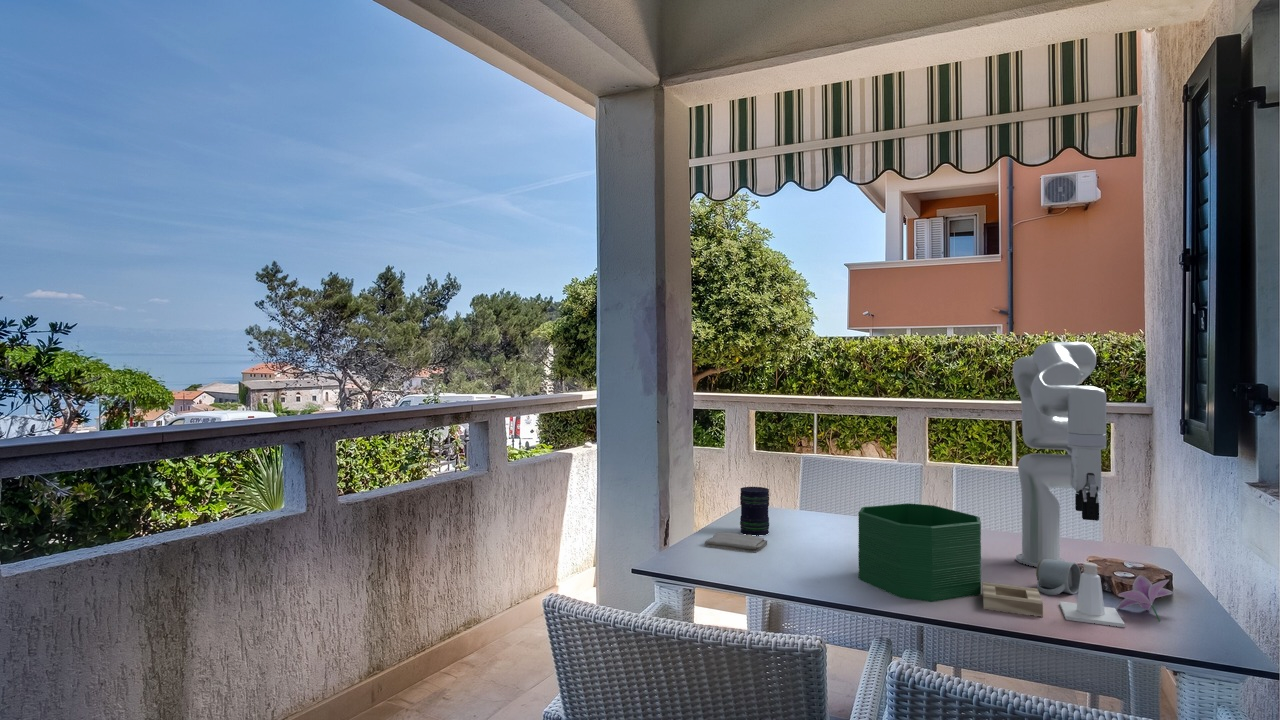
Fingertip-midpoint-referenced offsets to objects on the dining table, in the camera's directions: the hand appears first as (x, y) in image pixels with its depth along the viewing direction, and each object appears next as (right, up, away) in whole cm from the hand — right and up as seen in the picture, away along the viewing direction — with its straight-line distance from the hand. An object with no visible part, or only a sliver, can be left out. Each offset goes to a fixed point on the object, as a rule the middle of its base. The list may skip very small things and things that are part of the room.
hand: (1086, 515), depth 159 cm
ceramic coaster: (0, -22, -2) cm, 23 cm away
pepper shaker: (0, -22, -2) cm, 22 cm away
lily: (+13, -23, -1) cm, 26 cm away
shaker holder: (-15, -23, +5) cm, 27 cm away
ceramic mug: (+3, -23, +16) cm, 28 cm away
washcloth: (-73, -24, +60) cm, 97 cm away
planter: (-30, -23, +22) cm, 44 cm away
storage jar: (-64, -24, +77) cm, 103 cm away
